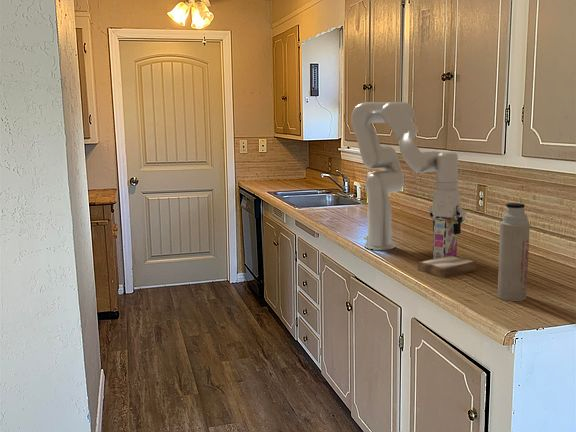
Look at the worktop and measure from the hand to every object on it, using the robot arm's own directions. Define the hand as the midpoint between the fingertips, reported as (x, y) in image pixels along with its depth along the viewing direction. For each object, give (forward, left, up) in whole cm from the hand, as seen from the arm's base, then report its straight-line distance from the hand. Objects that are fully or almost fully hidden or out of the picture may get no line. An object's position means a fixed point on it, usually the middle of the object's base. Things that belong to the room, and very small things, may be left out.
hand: (446, 232), depth 212 cm
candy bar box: (0, 0, -11) cm, 11 cm away
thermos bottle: (+42, -18, -11) cm, 47 cm away
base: (+10, -10, -11) cm, 18 cm away
